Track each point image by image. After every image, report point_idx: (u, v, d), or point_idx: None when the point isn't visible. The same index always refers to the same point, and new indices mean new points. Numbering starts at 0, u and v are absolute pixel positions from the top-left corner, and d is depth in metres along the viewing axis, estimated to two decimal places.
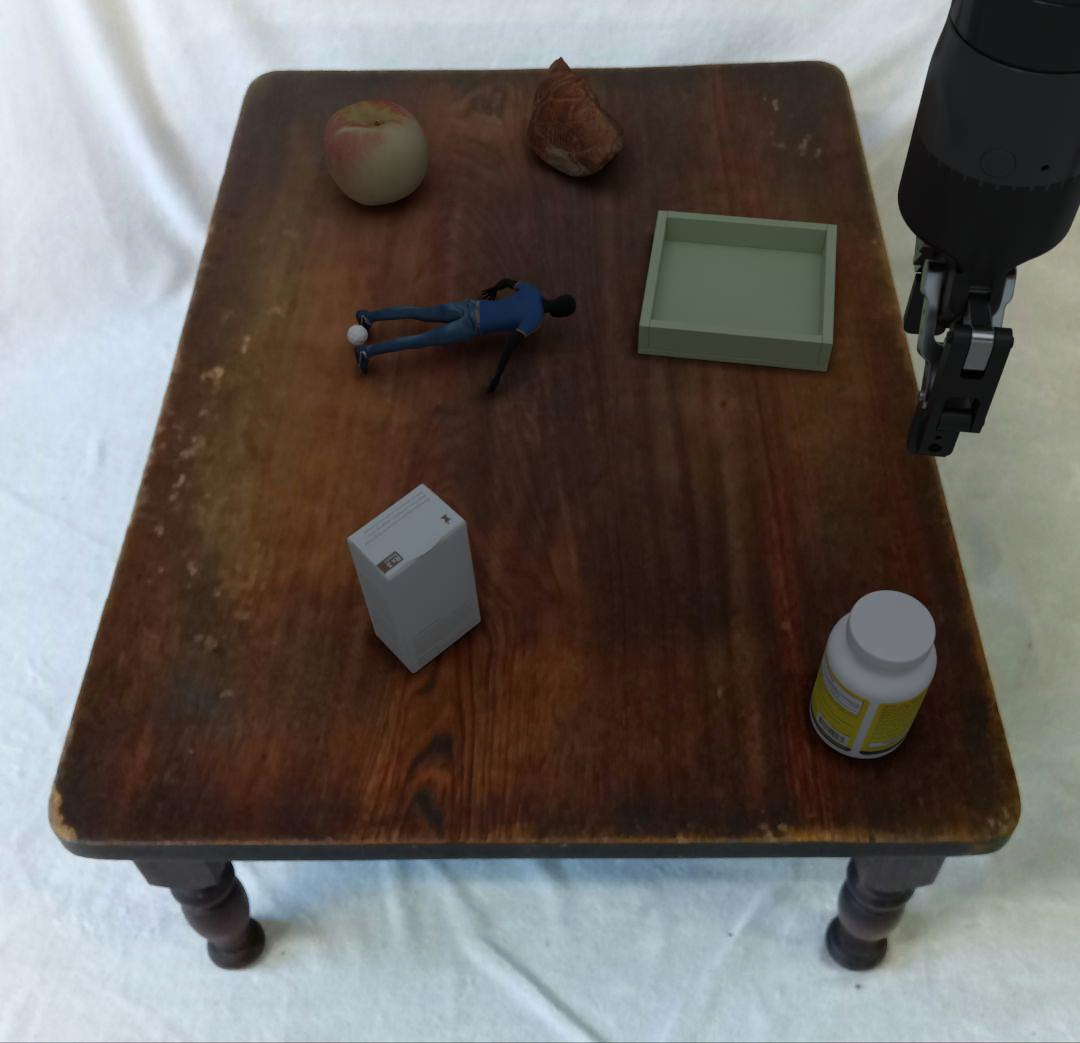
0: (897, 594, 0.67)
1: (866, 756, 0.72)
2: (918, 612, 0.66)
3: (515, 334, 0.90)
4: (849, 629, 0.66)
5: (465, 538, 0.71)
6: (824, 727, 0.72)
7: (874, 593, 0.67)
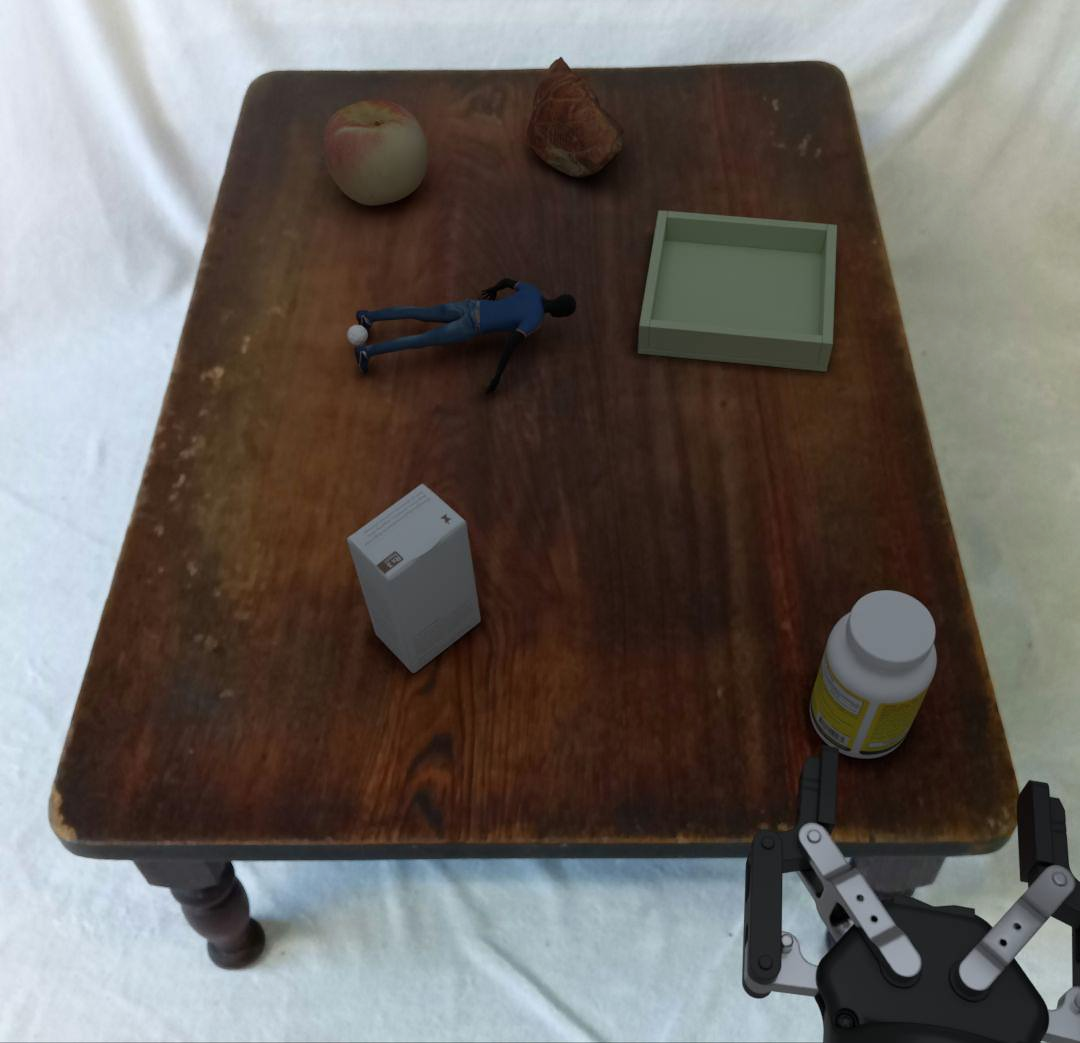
0: (897, 594, 0.67)
1: (866, 756, 0.72)
2: (918, 612, 0.66)
3: (515, 334, 0.90)
4: (849, 629, 0.66)
5: (465, 538, 0.71)
6: (824, 727, 0.72)
7: (874, 593, 0.67)
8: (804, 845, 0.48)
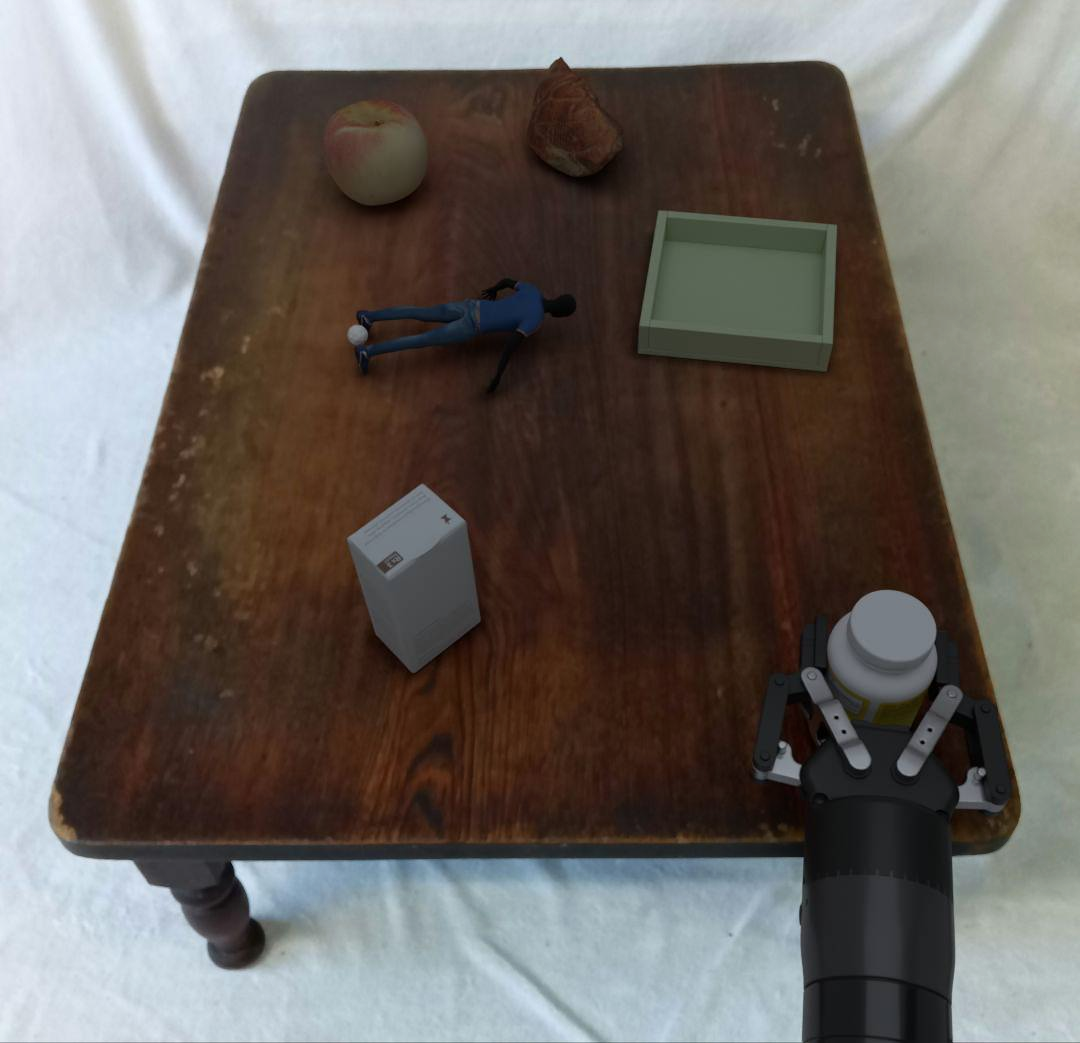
0: (898, 594, 0.67)
1: None
2: (919, 612, 0.66)
3: (515, 334, 0.90)
4: (850, 628, 0.66)
5: (465, 538, 0.71)
6: None
7: (875, 593, 0.67)
8: (804, 681, 0.68)
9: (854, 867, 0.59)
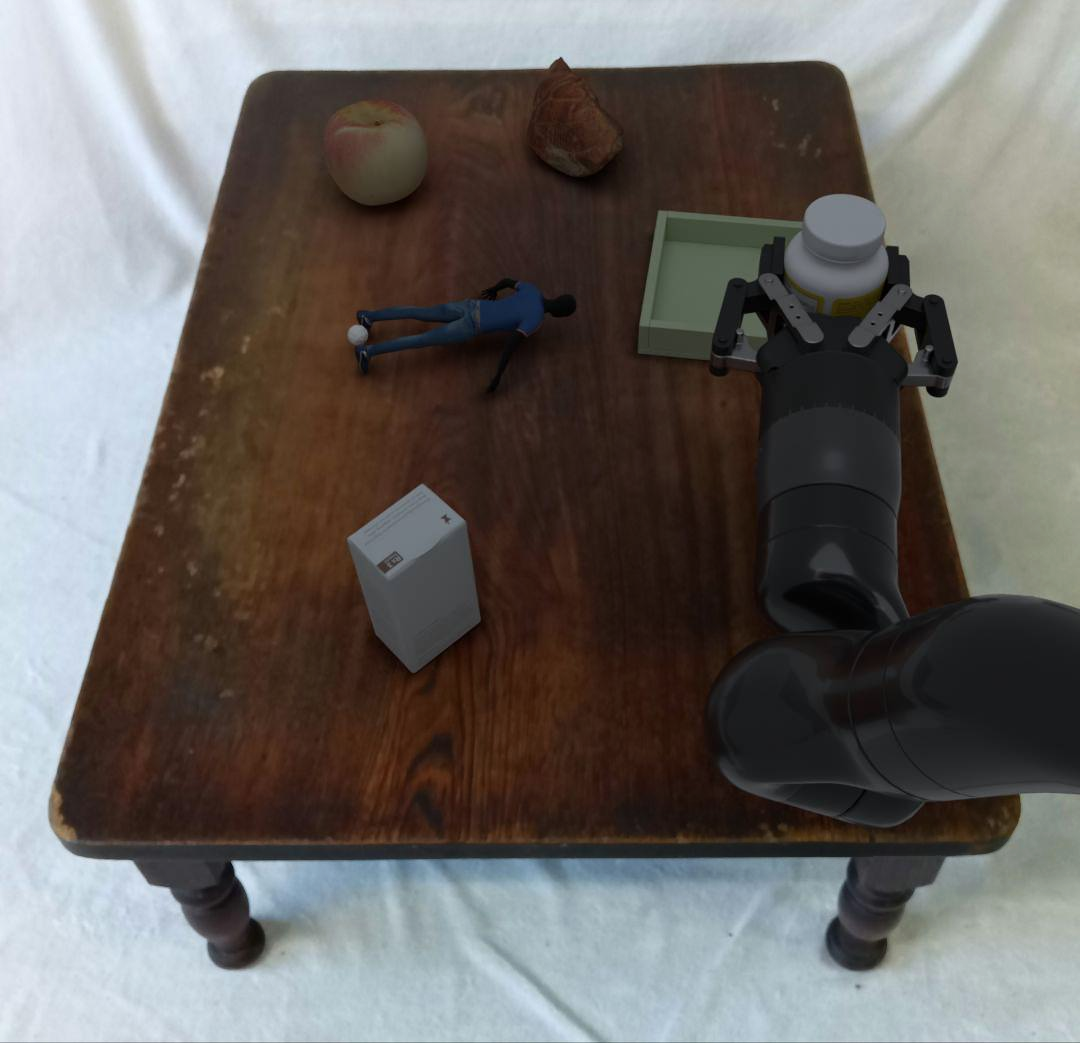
0: (850, 196, 0.70)
1: None
2: (870, 209, 0.69)
3: (515, 334, 0.90)
4: (804, 223, 0.69)
5: (465, 538, 0.71)
6: None
7: (828, 196, 0.70)
8: (761, 283, 0.71)
9: (805, 404, 0.62)
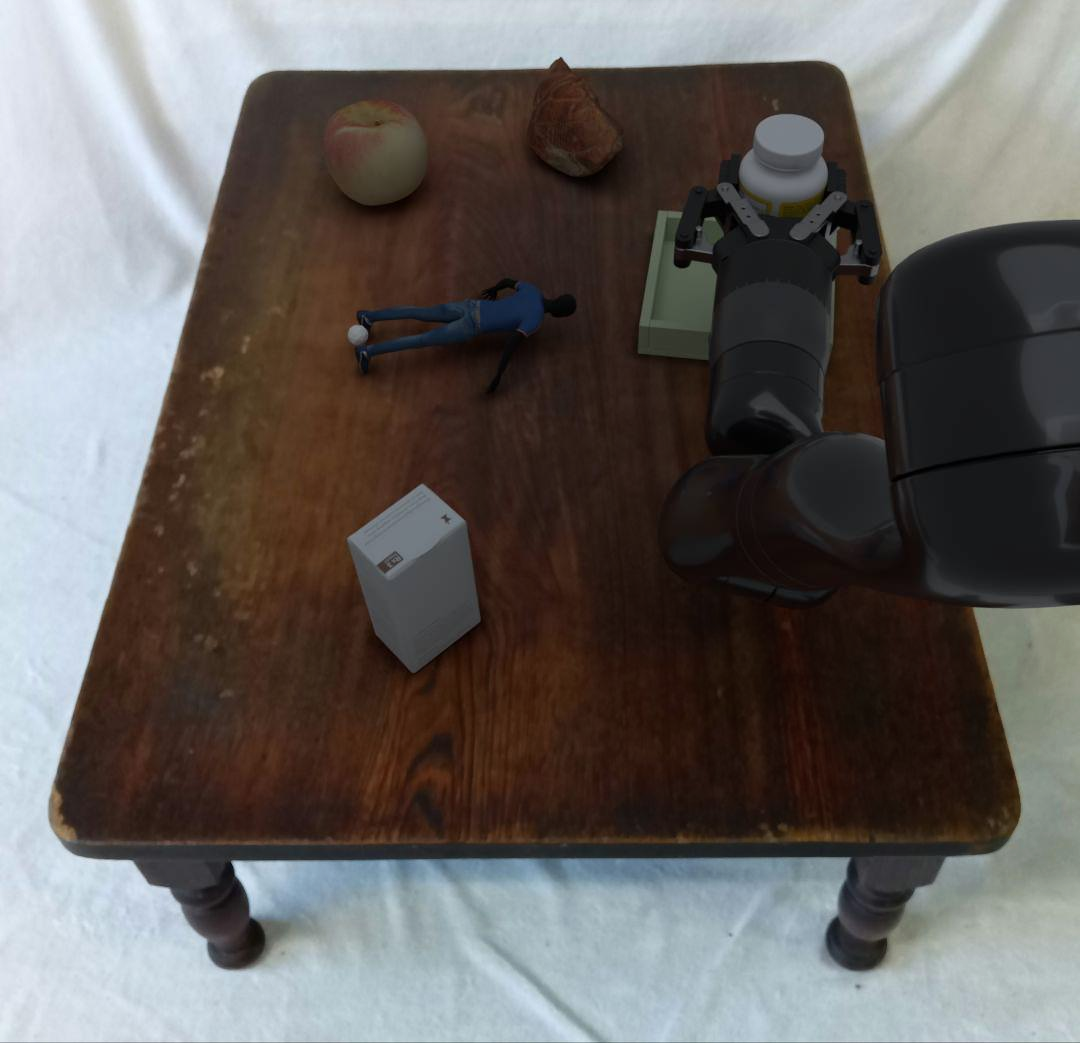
0: (795, 116, 0.82)
1: None
2: (811, 126, 0.81)
3: (516, 334, 0.90)
4: (755, 137, 0.81)
5: (465, 538, 0.71)
6: None
7: (776, 115, 0.82)
8: (718, 190, 0.83)
9: (749, 280, 0.74)
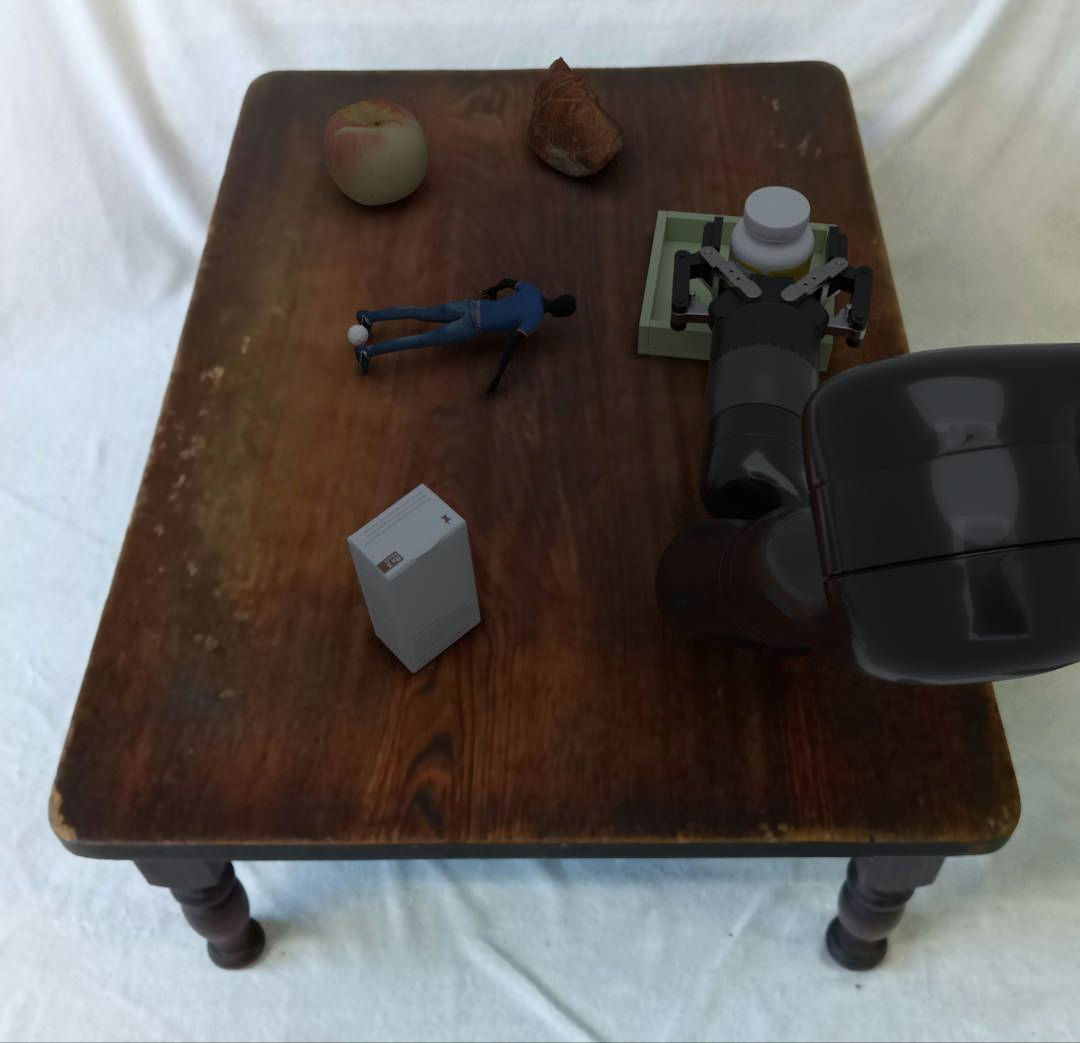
0: (782, 188, 0.87)
1: None
2: (798, 198, 0.86)
3: (516, 334, 0.90)
4: (745, 210, 0.86)
5: (465, 538, 0.71)
6: None
7: (765, 188, 0.87)
8: (702, 255, 0.87)
9: (742, 343, 0.79)
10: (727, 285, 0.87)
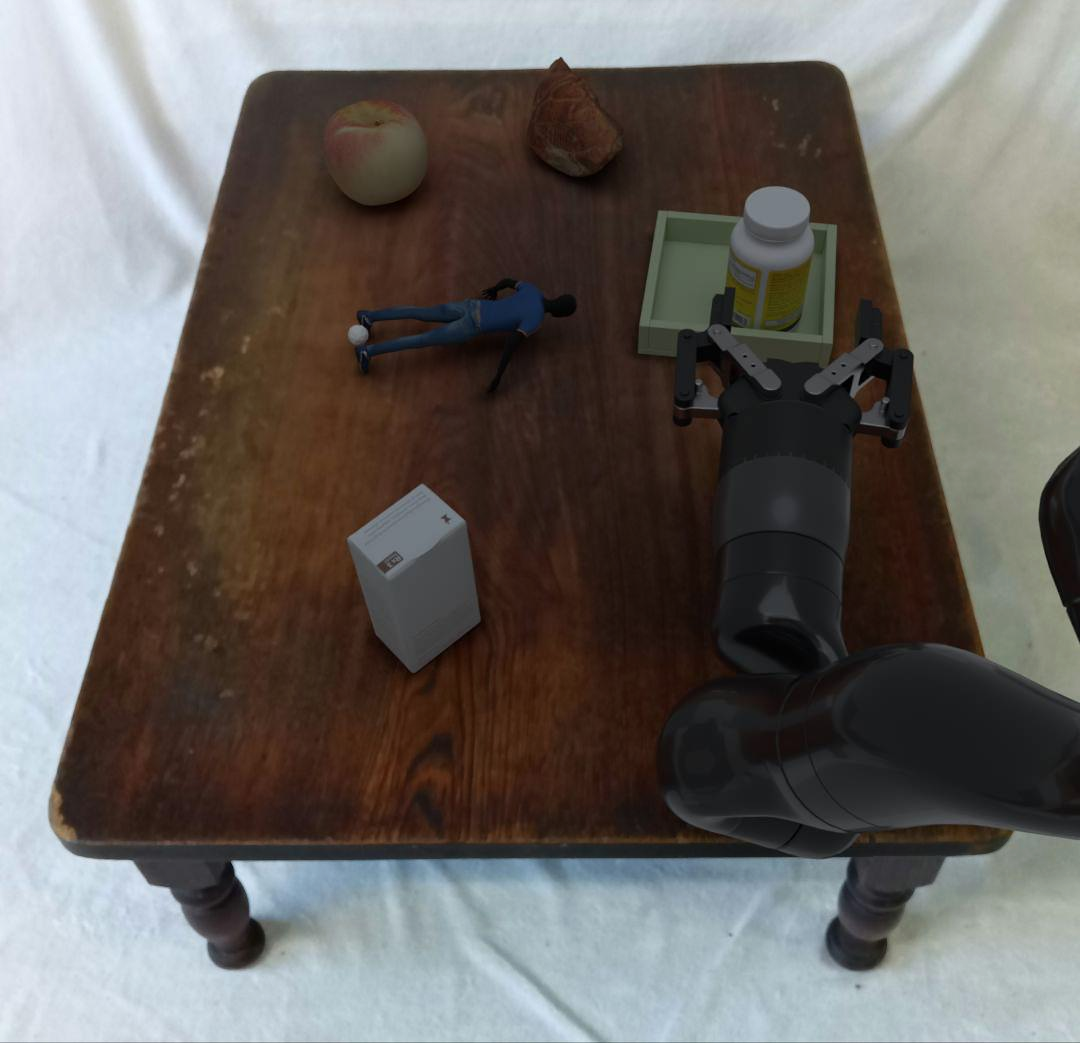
0: (782, 188, 0.87)
1: None
2: (797, 198, 0.86)
3: (516, 334, 0.90)
4: (745, 210, 0.86)
5: (465, 538, 0.71)
6: None
7: (765, 188, 0.87)
8: (711, 335, 0.74)
9: (758, 452, 0.65)
10: (740, 371, 0.74)
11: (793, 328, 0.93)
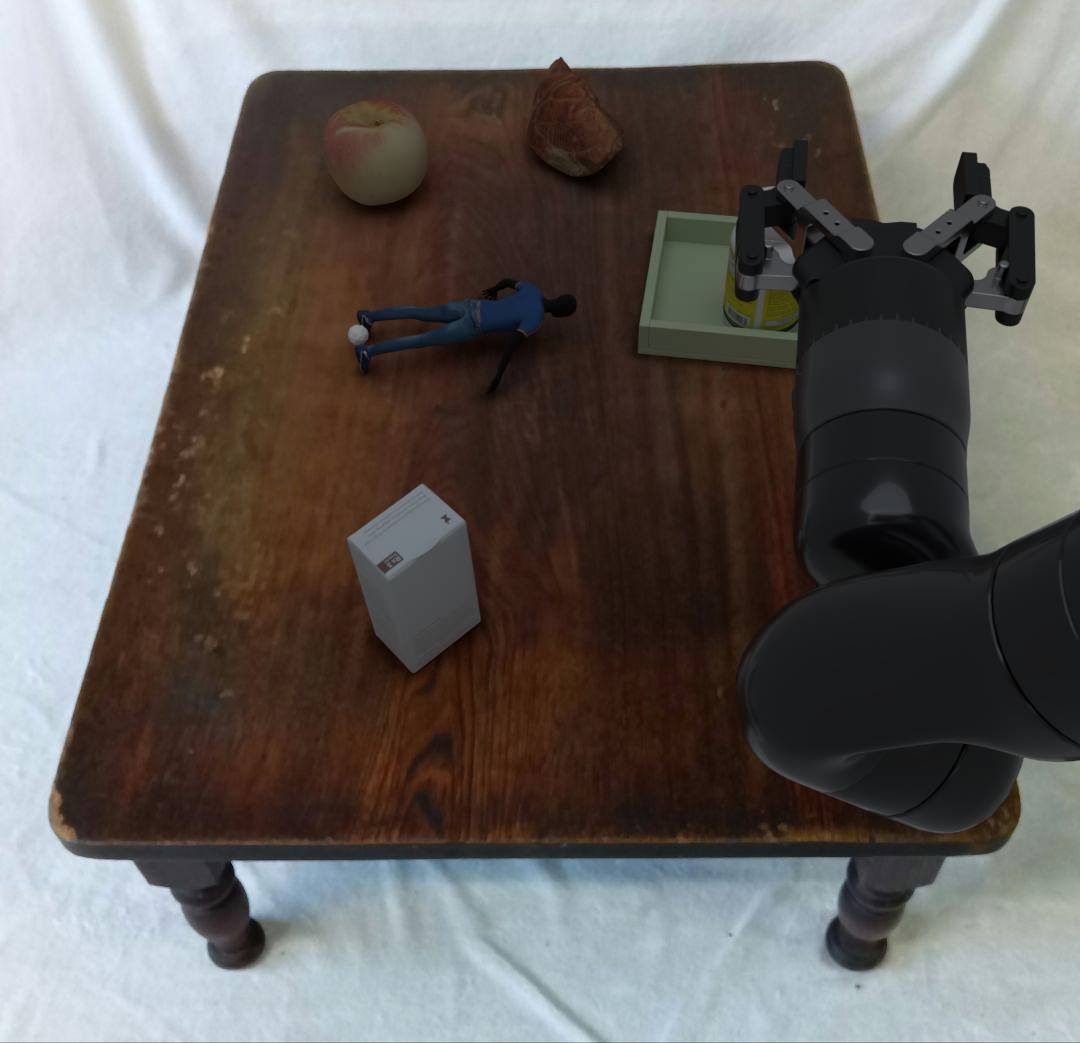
0: None
1: None
2: None
3: (516, 334, 0.90)
4: None
5: (465, 538, 0.71)
6: (732, 316, 0.92)
7: (765, 188, 0.87)
8: (781, 192, 0.60)
9: (854, 317, 0.51)
10: (817, 236, 0.60)
11: (793, 328, 0.93)
